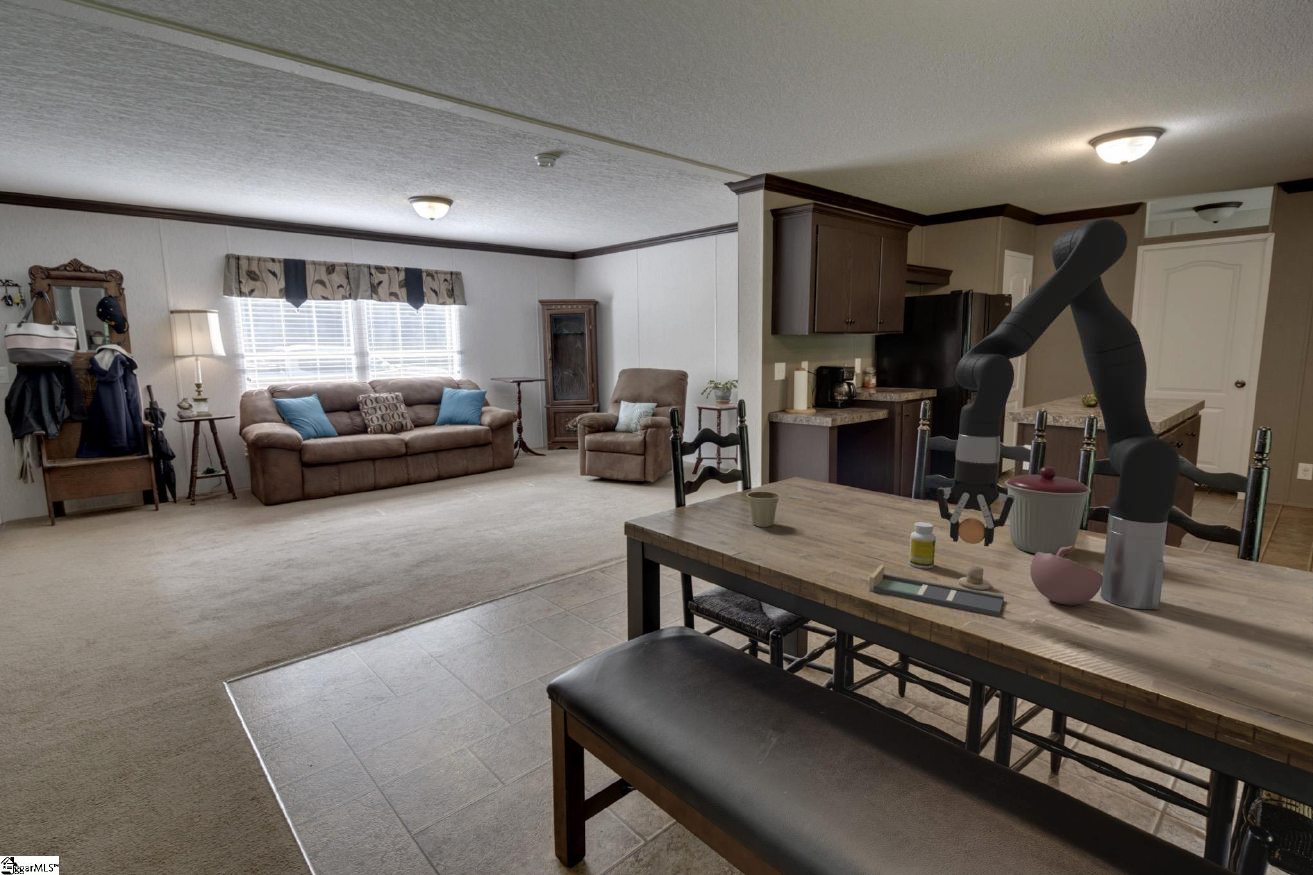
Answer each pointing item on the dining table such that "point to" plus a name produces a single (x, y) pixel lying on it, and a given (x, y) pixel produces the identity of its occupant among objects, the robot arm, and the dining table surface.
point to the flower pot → (763, 507)
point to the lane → (936, 593)
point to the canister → (1045, 511)
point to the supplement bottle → (922, 546)
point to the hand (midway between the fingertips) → (970, 542)
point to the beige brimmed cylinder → (974, 579)
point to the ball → (971, 530)
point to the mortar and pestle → (1064, 578)
